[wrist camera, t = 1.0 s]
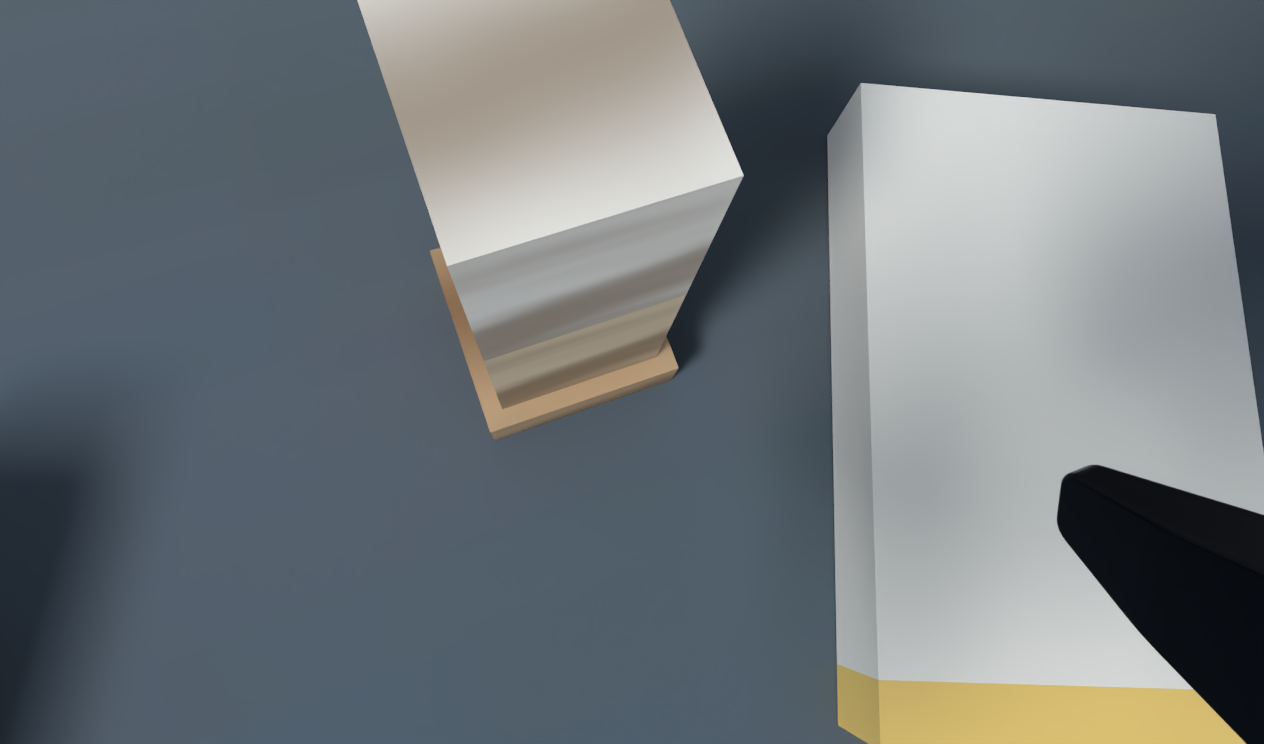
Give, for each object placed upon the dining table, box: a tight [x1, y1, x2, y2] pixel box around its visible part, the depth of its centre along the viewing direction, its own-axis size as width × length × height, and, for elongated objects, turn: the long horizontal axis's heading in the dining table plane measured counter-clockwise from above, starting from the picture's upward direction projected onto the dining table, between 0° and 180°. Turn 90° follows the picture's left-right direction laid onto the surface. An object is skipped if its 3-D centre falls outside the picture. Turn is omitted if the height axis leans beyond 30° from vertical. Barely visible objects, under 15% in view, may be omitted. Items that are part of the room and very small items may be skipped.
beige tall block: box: [358, 0, 744, 440], centre depth 18 cm, size 6×6×12 cm
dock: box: [827, 83, 1264, 744], centre depth 23 cm, size 18×11×3 cm, turn 178°
